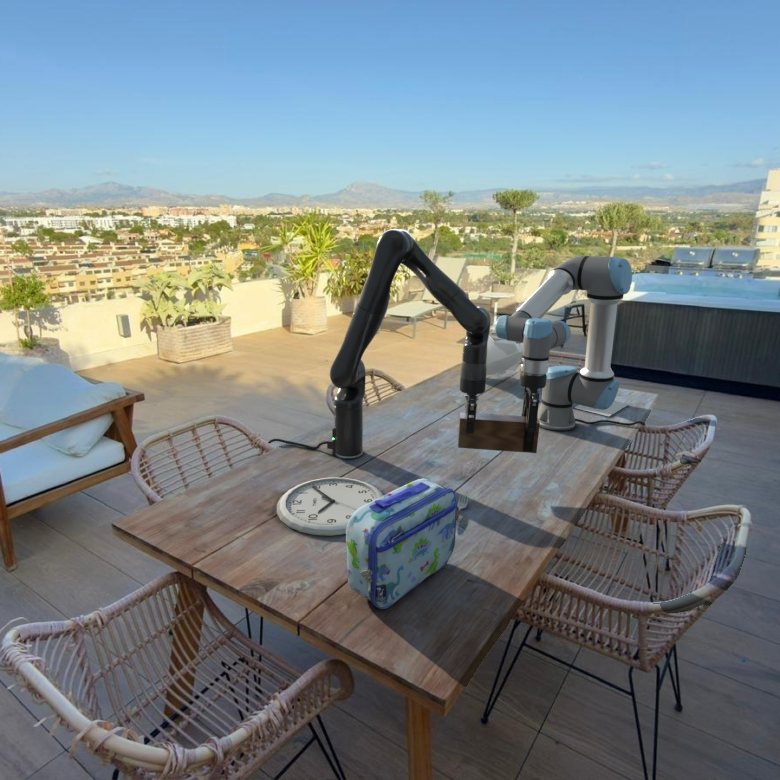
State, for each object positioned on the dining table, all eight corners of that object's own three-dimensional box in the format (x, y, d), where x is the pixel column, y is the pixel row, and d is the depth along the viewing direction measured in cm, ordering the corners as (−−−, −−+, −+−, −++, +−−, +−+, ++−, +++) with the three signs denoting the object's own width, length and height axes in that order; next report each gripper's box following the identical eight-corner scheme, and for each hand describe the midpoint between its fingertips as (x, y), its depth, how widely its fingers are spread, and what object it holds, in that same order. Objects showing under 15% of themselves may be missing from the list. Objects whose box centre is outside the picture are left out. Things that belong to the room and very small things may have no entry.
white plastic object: (486, 418, 266) (465, 396, 241) (467, 346, 288) (447, 318, 263) (557, 395, 254) (543, 368, 229) (531, 321, 276) (517, 290, 251)
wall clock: (392, 527, 129) (268, 531, 127) (391, 533, 130) (269, 537, 127) (383, 473, 158) (282, 475, 155) (383, 478, 158) (282, 480, 156)
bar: (533, 446, 161) (537, 416, 158) (536, 453, 156) (539, 423, 153) (457, 440, 163) (459, 412, 160) (458, 447, 158) (460, 418, 155)
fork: (445, 528, 132) (446, 521, 132) (459, 499, 147) (460, 493, 146) (455, 530, 132) (456, 523, 131) (468, 501, 146) (469, 494, 145)
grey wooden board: (608, 416, 214) (573, 407, 224) (608, 416, 214) (573, 408, 224) (628, 404, 229) (594, 396, 238) (628, 405, 229) (594, 397, 238)
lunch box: (375, 622, 100) (376, 527, 94) (339, 595, 108) (338, 505, 101) (459, 565, 118) (465, 481, 112) (424, 545, 125) (427, 465, 119)
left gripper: (460, 368, 161) (456, 420, 166) (460, 381, 147) (457, 437, 152) (484, 370, 160) (480, 421, 165) (487, 383, 147) (483, 438, 152)
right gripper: (516, 364, 161) (510, 434, 168) (524, 380, 143) (517, 458, 150) (541, 365, 160) (534, 435, 167) (552, 382, 142) (543, 460, 149)
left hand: (469, 428), depth 159 cm, fingers open, 6 cm apart
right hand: (526, 446), depth 158 cm, fingers closed on bar, 5 cm apart
